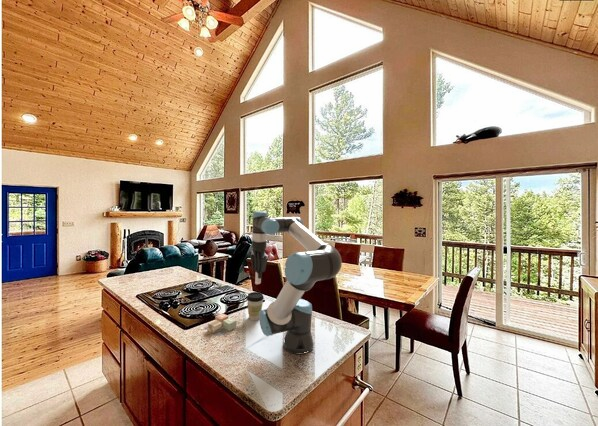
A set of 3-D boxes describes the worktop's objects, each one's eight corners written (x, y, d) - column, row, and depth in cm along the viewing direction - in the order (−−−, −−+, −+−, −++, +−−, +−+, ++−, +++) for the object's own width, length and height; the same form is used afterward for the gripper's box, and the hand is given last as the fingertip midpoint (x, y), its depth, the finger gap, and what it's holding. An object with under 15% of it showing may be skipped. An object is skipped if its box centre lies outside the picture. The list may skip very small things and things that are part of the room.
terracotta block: (228, 322, 161) (228, 315, 160) (220, 326, 157) (220, 319, 156) (222, 319, 164) (222, 312, 163) (215, 323, 160) (215, 315, 159)
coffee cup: (259, 324, 162) (260, 299, 160) (243, 322, 164) (244, 297, 162) (265, 316, 172) (266, 292, 170) (249, 314, 173) (250, 290, 172)
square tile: (236, 329, 156) (236, 327, 156) (218, 338, 147) (218, 336, 147) (222, 321, 164) (222, 319, 164) (204, 329, 154) (204, 327, 154)
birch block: (221, 330, 153) (221, 322, 152) (213, 333, 149) (213, 326, 148) (216, 326, 156) (216, 319, 155) (208, 330, 152) (208, 323, 151)
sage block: (236, 327, 156) (236, 320, 156) (229, 330, 152) (229, 323, 152) (230, 324, 159) (230, 316, 159) (223, 327, 155) (223, 320, 155)
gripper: (273, 241, 149) (271, 284, 152) (255, 237, 157) (254, 278, 160) (263, 243, 143) (261, 288, 146) (245, 239, 151) (244, 282, 154)
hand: (258, 283), depth 153 cm, fingers closed
